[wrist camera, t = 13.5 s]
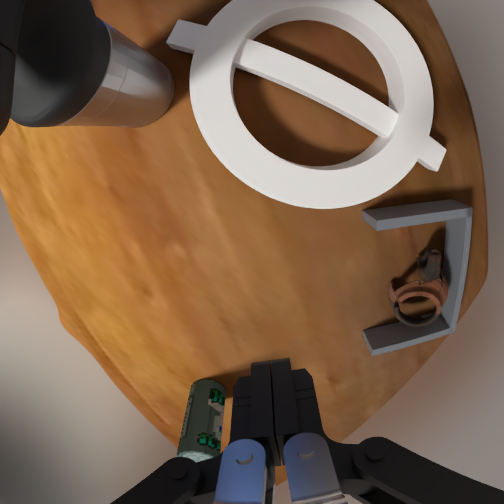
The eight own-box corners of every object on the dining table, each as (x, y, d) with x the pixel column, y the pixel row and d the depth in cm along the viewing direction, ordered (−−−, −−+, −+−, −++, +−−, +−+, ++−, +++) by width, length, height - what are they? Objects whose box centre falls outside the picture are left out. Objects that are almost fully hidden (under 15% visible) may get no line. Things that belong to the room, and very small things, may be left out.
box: (362, 336, 43) (372, 355, 39) (362, 210, 36) (376, 220, 31) (440, 315, 42) (454, 331, 38) (452, 199, 35) (472, 207, 30)
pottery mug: (439, 294, 41) (439, 334, 36) (387, 288, 45) (381, 326, 40) (455, 235, 34) (462, 273, 29) (395, 228, 38) (393, 265, 33)
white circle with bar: (166, 36, 28) (155, 24, 24) (365, -17, 24) (376, -31, 20) (249, 231, 38) (248, 244, 33) (436, 164, 34) (456, 169, 29)
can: (225, 402, 49) (219, 470, 35) (192, 399, 49) (179, 465, 35) (225, 381, 47) (218, 453, 33) (190, 377, 47) (175, 448, 33)
